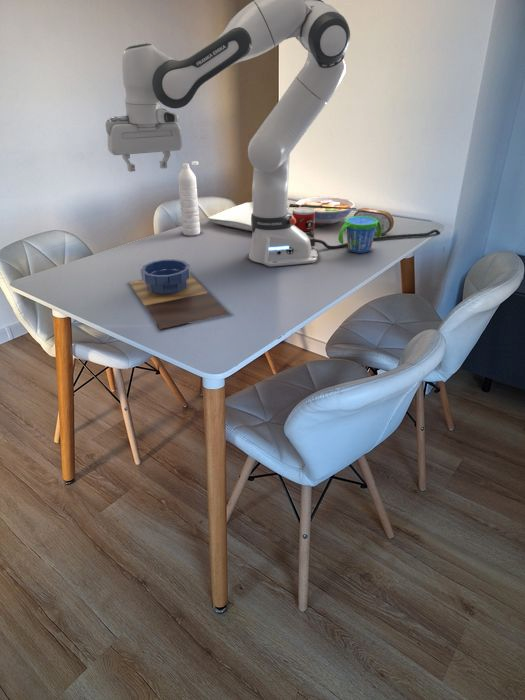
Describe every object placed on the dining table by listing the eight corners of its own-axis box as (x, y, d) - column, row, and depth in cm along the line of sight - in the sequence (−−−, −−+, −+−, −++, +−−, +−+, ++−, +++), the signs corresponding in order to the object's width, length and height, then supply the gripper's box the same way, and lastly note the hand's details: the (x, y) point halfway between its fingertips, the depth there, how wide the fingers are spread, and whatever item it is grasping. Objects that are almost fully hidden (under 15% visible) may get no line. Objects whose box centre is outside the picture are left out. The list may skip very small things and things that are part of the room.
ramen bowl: (358, 216, 208) (359, 195, 204) (353, 233, 189) (355, 210, 184) (297, 213, 213) (297, 193, 209) (287, 229, 194) (287, 207, 190)
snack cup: (344, 257, 166) (346, 226, 161) (331, 247, 175) (332, 218, 169) (387, 252, 170) (390, 221, 165) (372, 242, 179) (375, 213, 173)
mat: (144, 306, 136) (144, 305, 135) (208, 294, 142) (208, 292, 142) (160, 330, 124) (160, 328, 124) (229, 315, 131) (229, 313, 130)
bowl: (193, 278, 152) (191, 258, 149) (188, 296, 140) (186, 275, 137) (148, 279, 152) (146, 259, 149) (140, 297, 140) (137, 276, 137)
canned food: (299, 245, 177) (300, 213, 172) (288, 239, 183) (288, 208, 178) (318, 242, 180) (319, 210, 175) (306, 236, 186) (307, 205, 181)
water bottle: (190, 237, 187) (184, 165, 175) (179, 233, 191) (172, 163, 179) (208, 231, 193) (203, 162, 180) (197, 228, 197) (191, 160, 184)
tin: (392, 234, 186) (395, 211, 182) (389, 236, 184) (392, 213, 180) (354, 228, 193) (356, 206, 189) (351, 230, 191) (352, 208, 187)
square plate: (247, 210, 219) (247, 200, 217) (302, 219, 205) (302, 209, 203) (206, 225, 200) (205, 215, 198) (264, 237, 186) (264, 226, 184)
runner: (129, 283, 150) (129, 282, 150) (187, 272, 156) (187, 271, 156) (144, 306, 136) (144, 305, 135) (208, 294, 142) (208, 292, 142)
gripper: (108, 118, 127) (115, 175, 135) (183, 115, 137) (185, 168, 145) (100, 115, 132) (107, 170, 139) (173, 112, 142) (176, 164, 149)
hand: (147, 169), depth 142 cm, fingers open, 8 cm apart
